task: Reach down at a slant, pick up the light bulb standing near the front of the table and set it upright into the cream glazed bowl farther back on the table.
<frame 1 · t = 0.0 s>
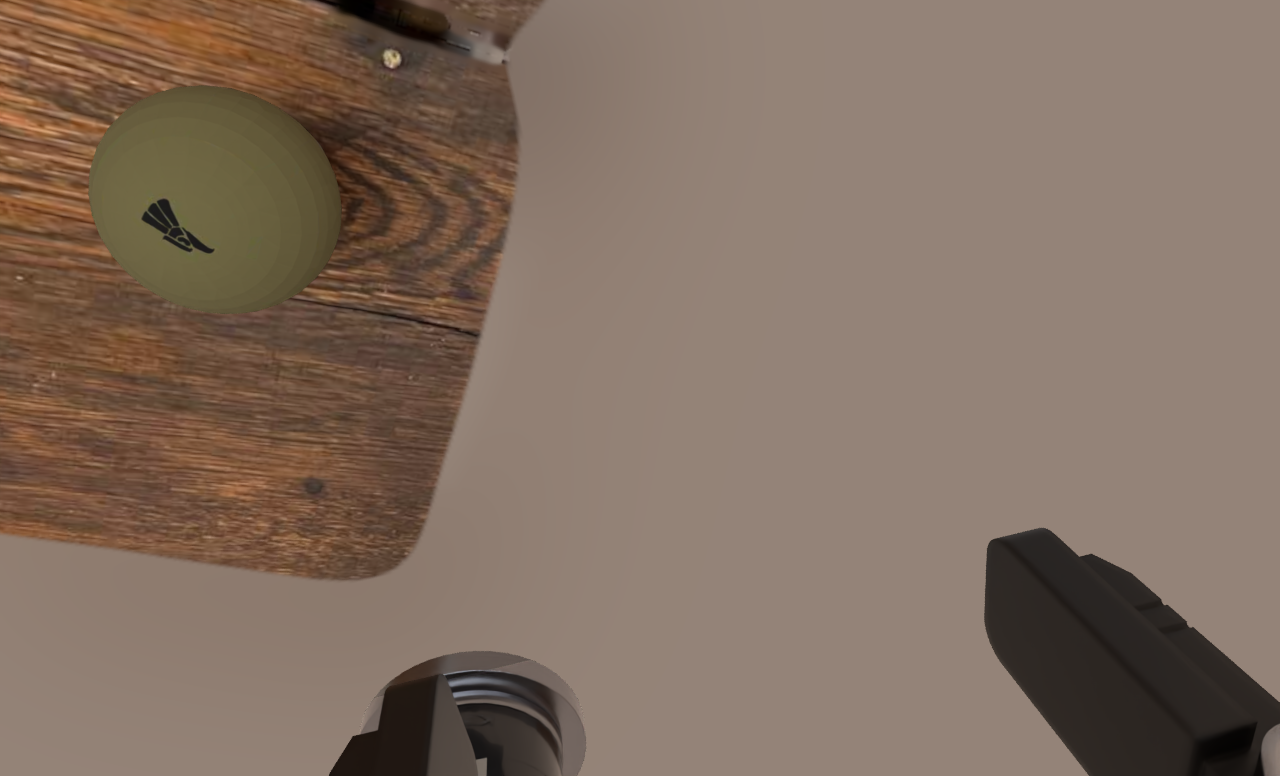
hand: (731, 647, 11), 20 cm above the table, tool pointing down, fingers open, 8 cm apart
light bulb: (294, 159, 26), on the table
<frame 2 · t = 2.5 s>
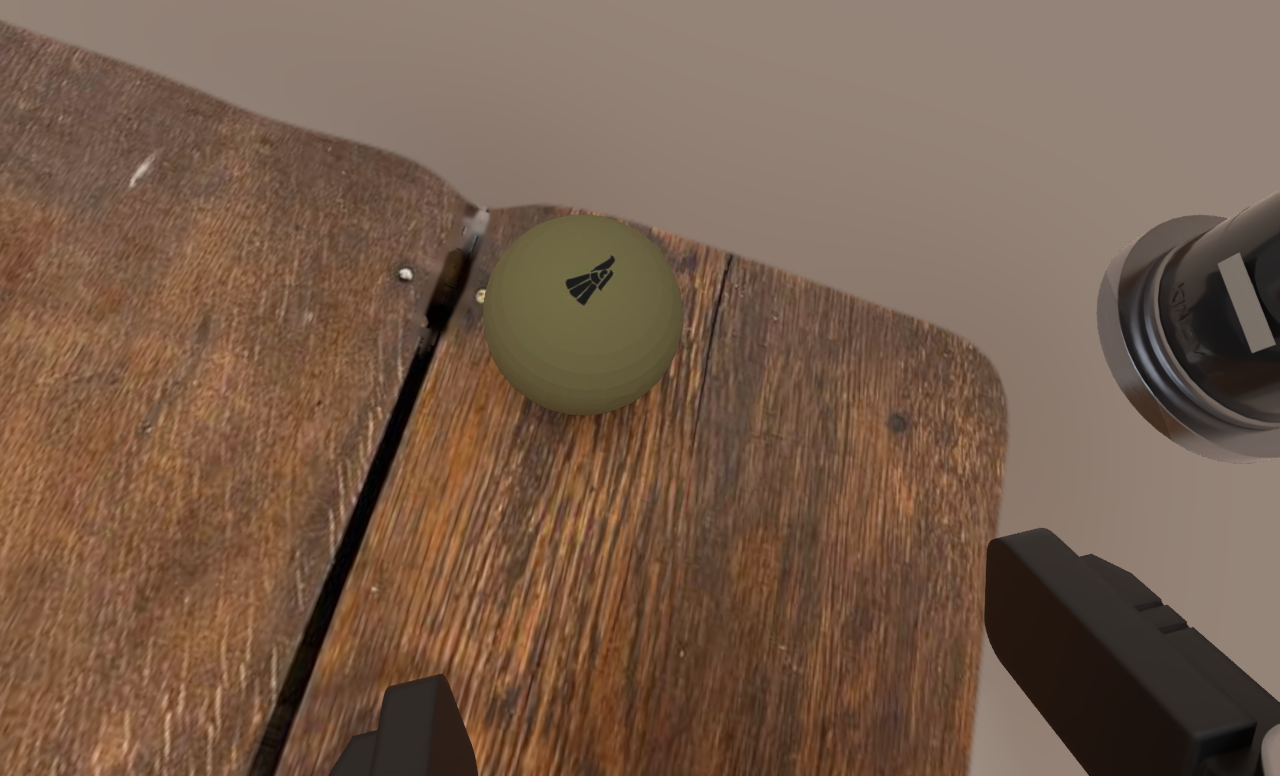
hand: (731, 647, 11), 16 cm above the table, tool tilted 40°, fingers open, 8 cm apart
light bulb: (569, 389, 29), on the table
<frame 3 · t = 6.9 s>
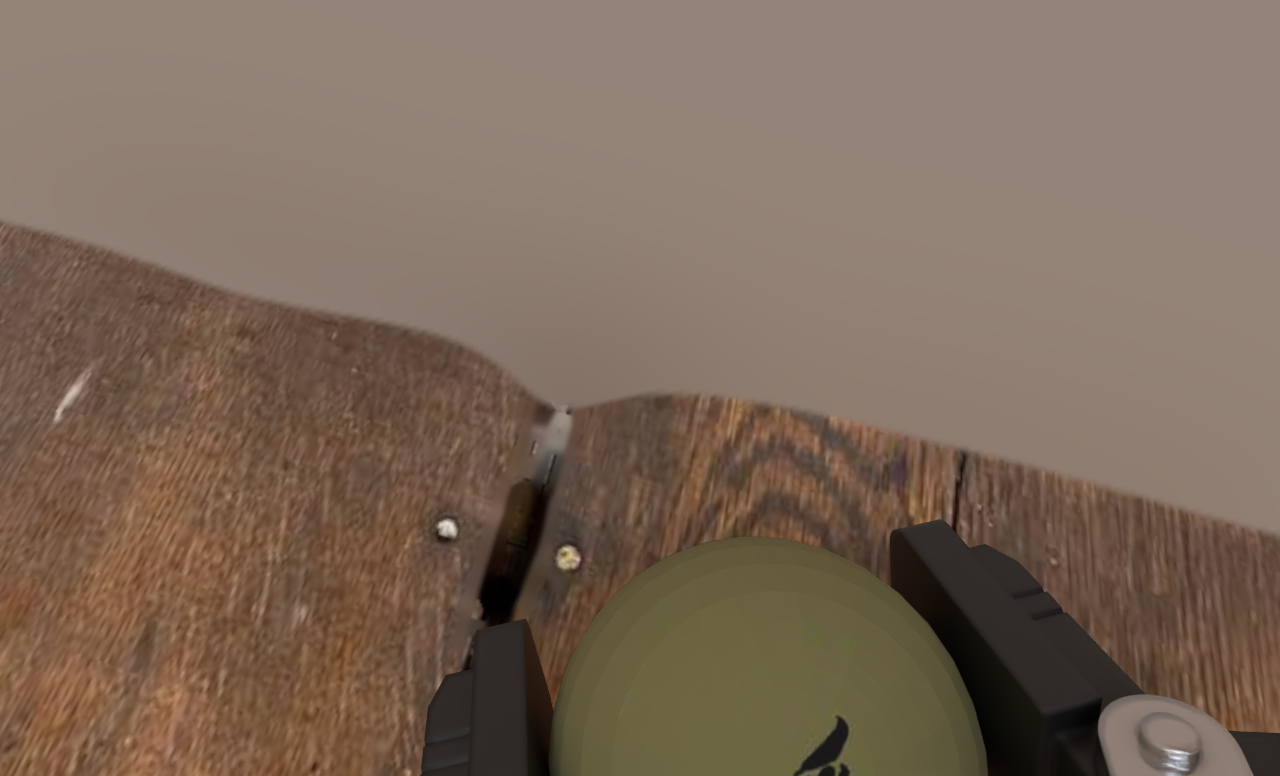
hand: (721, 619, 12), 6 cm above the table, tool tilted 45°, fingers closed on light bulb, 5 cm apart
light bulb: (715, 714, 17), on the table, touching gripper
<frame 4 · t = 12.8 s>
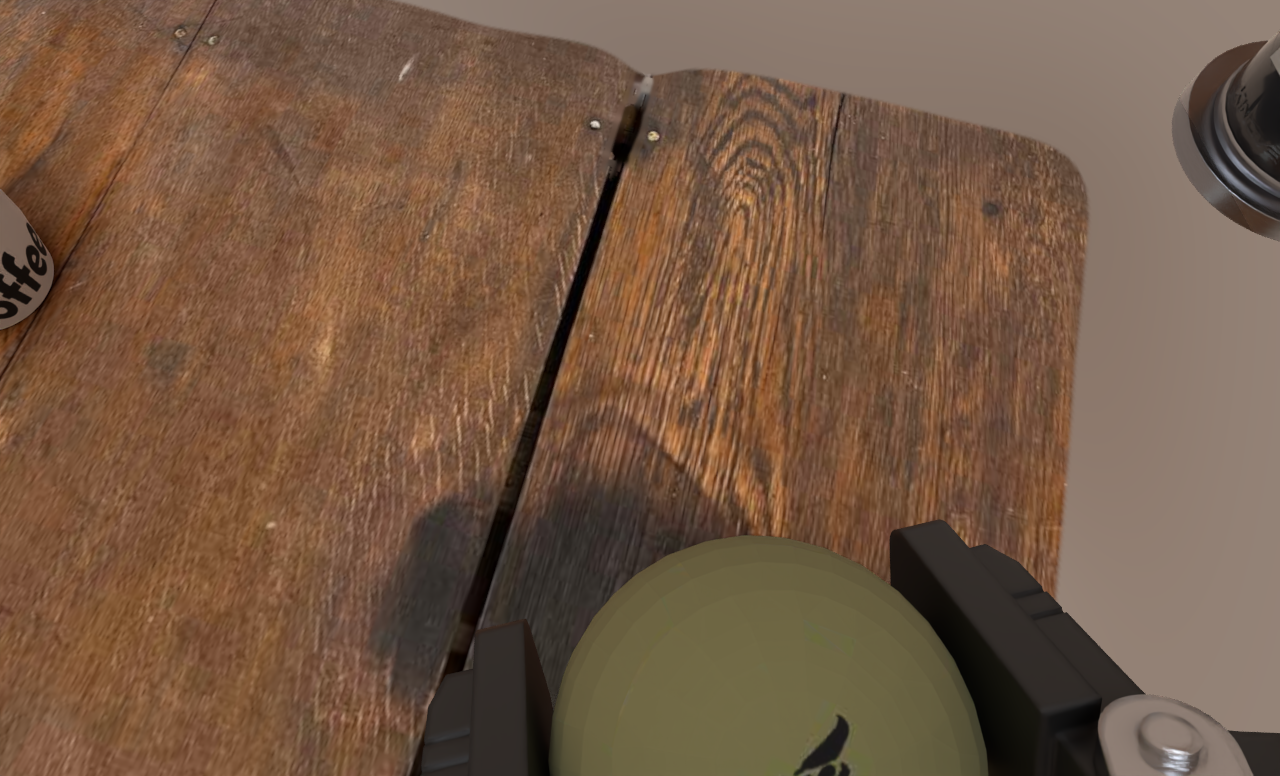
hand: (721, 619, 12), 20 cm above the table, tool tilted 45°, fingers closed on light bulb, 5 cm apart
cup: (1, 283, 36), on the table
light bulb: (715, 714, 17), point 14 cm above the table, touching gripper
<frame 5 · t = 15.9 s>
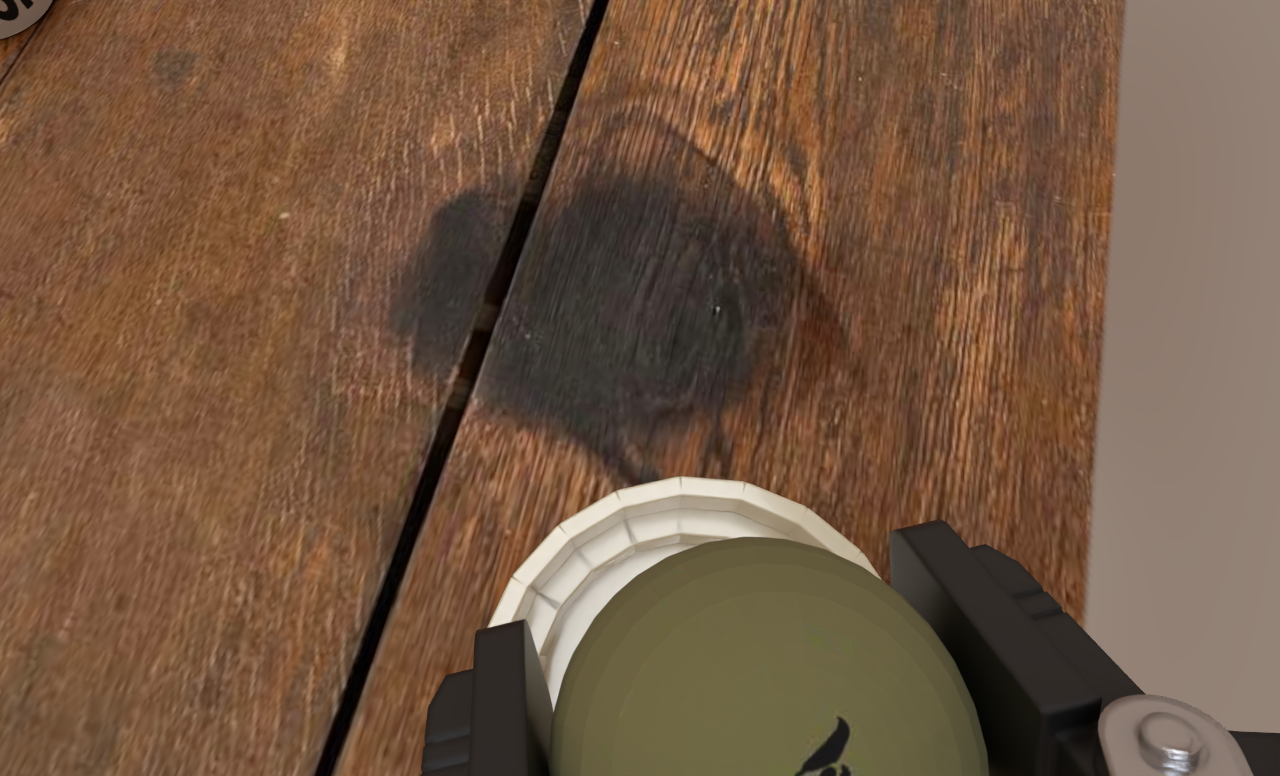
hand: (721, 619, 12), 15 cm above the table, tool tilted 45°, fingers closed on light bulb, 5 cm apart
bowl: (689, 693, 25), on the table
light bulb: (715, 715, 17), point 8 cm above the table, touching gripper
when the fingers open (7 cm above the table, at t = 18.6 s): light bulb stays where it is, resting on bowl.
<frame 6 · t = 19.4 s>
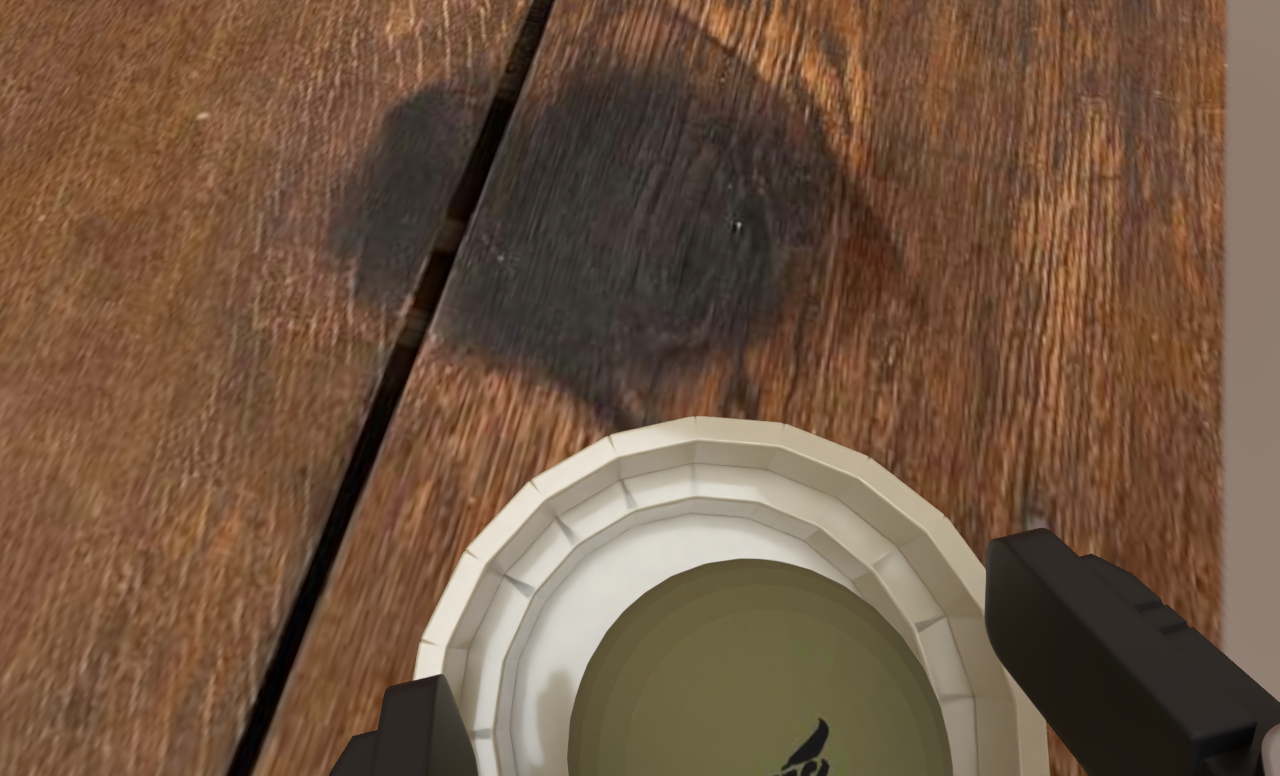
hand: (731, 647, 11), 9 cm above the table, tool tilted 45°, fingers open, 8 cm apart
bowl: (707, 709, 19), on the table
light bulb: (713, 717, 19), resting on bowl
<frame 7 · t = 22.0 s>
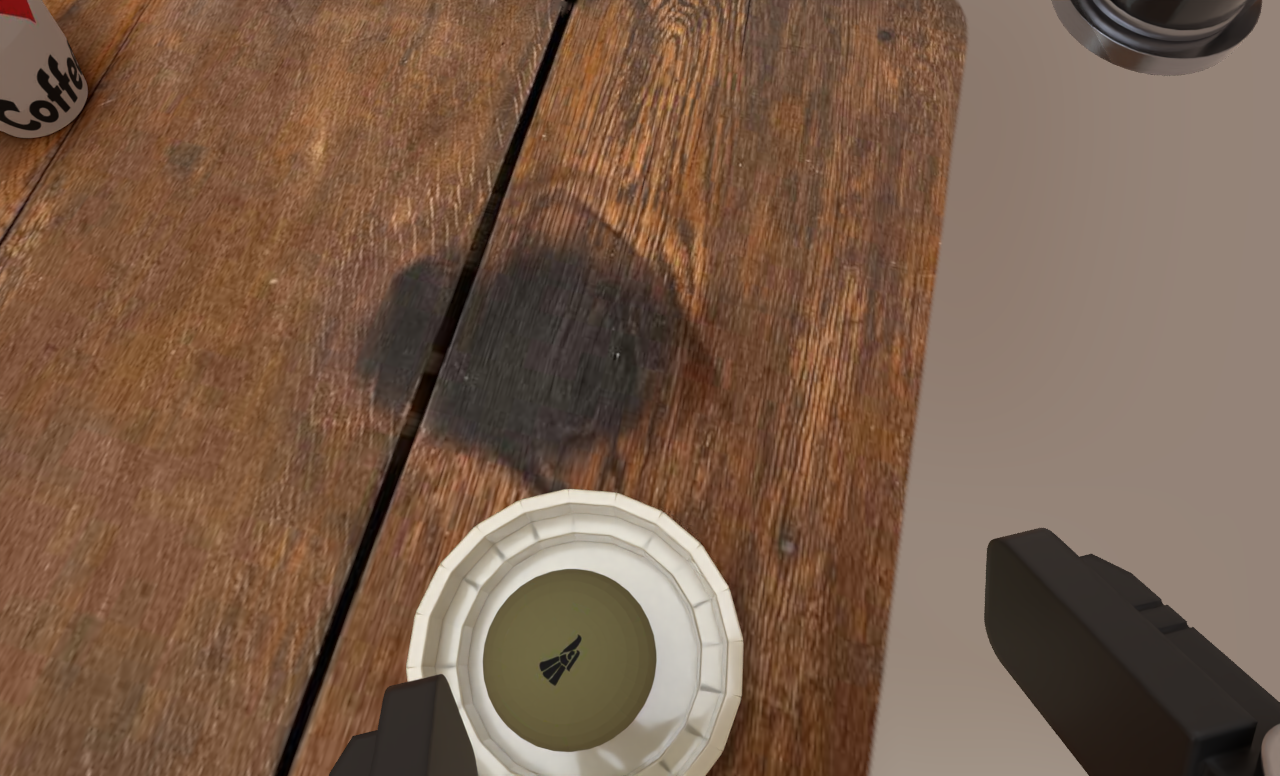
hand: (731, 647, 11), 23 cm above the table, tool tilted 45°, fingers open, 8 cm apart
cup: (42, 102, 43), on the table
bowl: (584, 656, 33), on the table
light bulb: (586, 660, 32), resting on bowl
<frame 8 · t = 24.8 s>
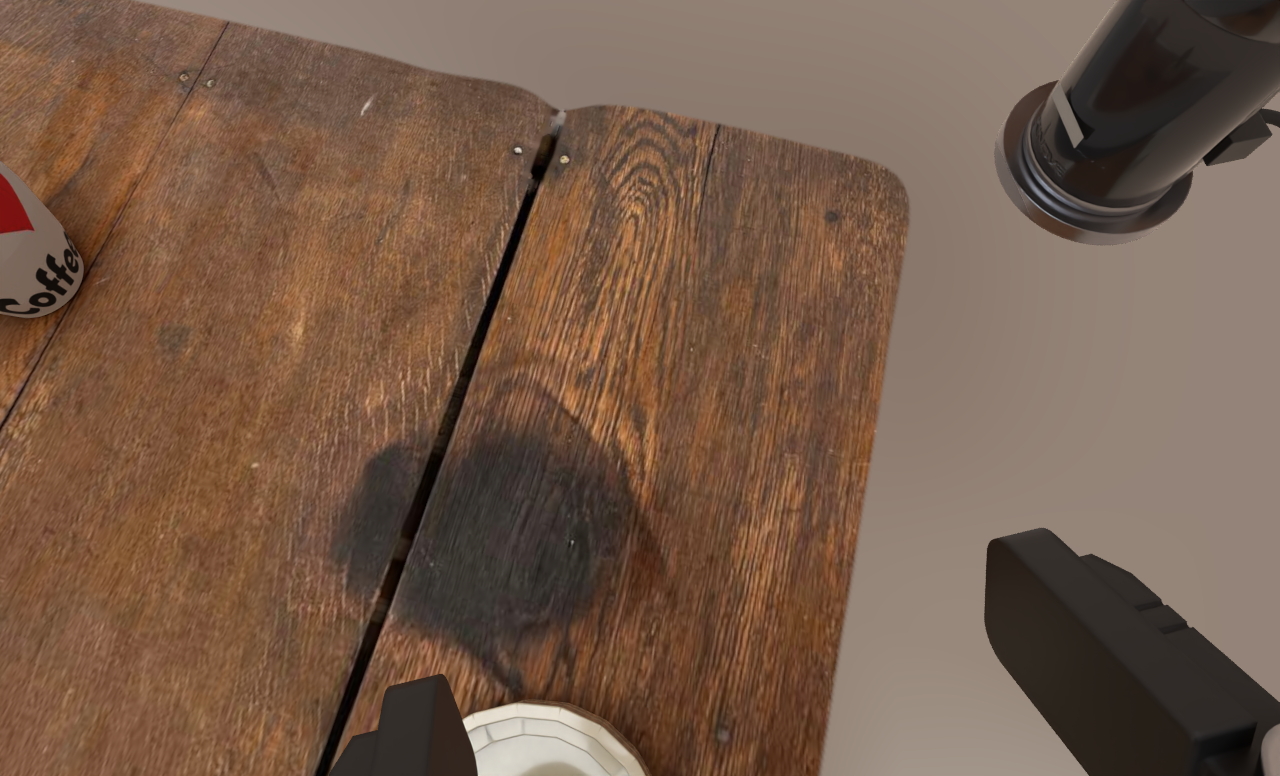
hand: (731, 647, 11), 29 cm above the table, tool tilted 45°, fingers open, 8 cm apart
cup: (41, 280, 46), on the table
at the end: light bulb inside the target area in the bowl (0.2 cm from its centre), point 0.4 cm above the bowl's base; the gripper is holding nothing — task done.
